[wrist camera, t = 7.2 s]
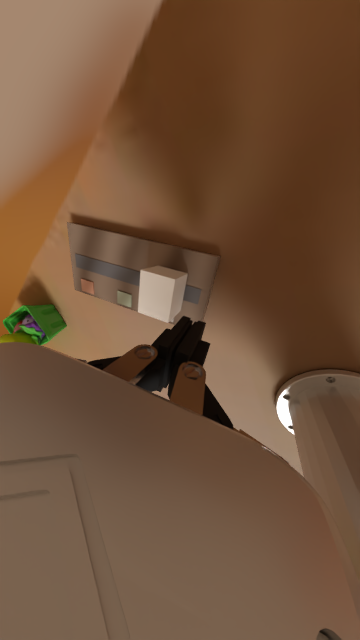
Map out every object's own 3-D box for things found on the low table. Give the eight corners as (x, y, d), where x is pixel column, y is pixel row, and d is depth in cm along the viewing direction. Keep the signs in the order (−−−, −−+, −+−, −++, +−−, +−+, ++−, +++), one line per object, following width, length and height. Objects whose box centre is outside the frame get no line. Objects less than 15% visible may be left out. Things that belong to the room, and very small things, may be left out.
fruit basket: (52, 296, 34) (-27, 316, 24) (77, 334, 36) (13, 367, 26) (28, 313, 39) (-44, 335, 30) (51, 345, 41) (-10, 376, 32)
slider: (187, 273, 20) (175, 279, 17) (180, 310, 23) (168, 322, 19) (158, 265, 21) (140, 269, 18) (154, 302, 24) (137, 312, 20)
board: (220, 256, 20) (218, 257, 19) (201, 328, 25) (197, 333, 23) (76, 223, 25) (65, 222, 24) (82, 287, 30) (73, 290, 28)
